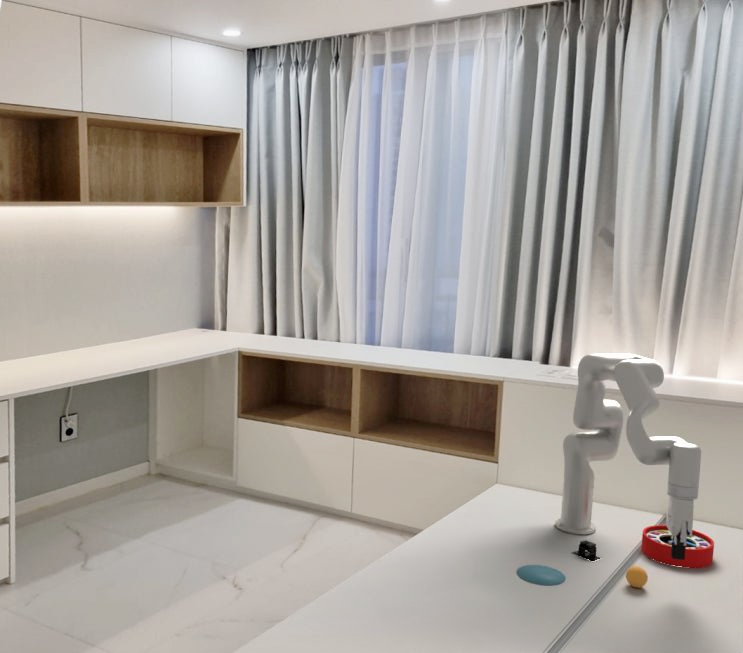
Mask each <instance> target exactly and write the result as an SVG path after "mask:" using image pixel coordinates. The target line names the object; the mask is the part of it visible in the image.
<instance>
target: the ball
mask: <svg viewBox="0 0 743 653" xmlns="http://www.w3.org/2000/svg"><path fill="white" fill-rule="evenodd" d="M625 578H626V581H627V583H628V584H629V585H630V586H631V587H634V588H636V587H637V589H638V588H643V587H645V585H646V584H647V583H648V579H649V578H648V574H647V571H646V569H644V568H643V567H641V566H638V565H634V566H631V567H629V568H628V569H627V571H626V574H625Z"/></svg>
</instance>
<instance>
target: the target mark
mask: <svg viewBox="0 0 743 653" xmlns="http://www.w3.org/2000/svg"><path fill="white" fill-rule="evenodd" d="M516 574H517V576H518V577H519V578H520V579H522V580H523V581H525V582H529V583H531V584H535V585H539V586H556V585H561V584H562V583H564V582H565V581H566V576H565V574H564V573H563V572H562V571H560V570H558V569H556V568H553V567H551V566H547V565H541V564H527V565H521V566H520V567H518V568H517V570H516Z"/></svg>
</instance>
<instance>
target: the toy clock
mask: <svg viewBox="0 0 743 653" xmlns="http://www.w3.org/2000/svg"><path fill="white" fill-rule="evenodd" d="M641 536H642V538H641V546H640V547H641V548H640V549H641V552H642V554H643V555H645V557H647V558H648V559H650V558H651V559H650V560H652V559H654V560H653V561H655V560H656V561H655V562H657V561H658V562H657V563H660V562H662V563H661V564H663V563H665V564H664V565H666V564H669V565H668V566H670V565H675V566H682V567H689V568H688V569H704V568H708V567H710V566H711V565H712V564H713V559H714V548H715V541H714V540H713V539H712V538H711V537H710V536H708V535H707V534H704V533H703V532H700V531H698V530H697V531H696V530H694V529H692V535H691V536H690V537H688V536H687V538H686V549H685V559H684V560H679V559H673V558H672V557H671V546H672V542H673V541H672V534H671V533H670V531H669V530H668V528H667V526H666V524H659V525H650V526H646V527H645V528H643V530H642V535H641ZM675 566H674V567H675ZM703 567H704V568H703Z"/></svg>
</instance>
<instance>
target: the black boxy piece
mask: <svg viewBox="0 0 743 653" xmlns="http://www.w3.org/2000/svg"><path fill="white" fill-rule="evenodd" d="M570 553H571V554H573V555H575V556H577V555H578V556H577V557H579V556H581V557H580V558H582V557H583V558H582V559H584V558H586V559H589V560H590V561H589V560H588V561H589V562H591V561H595V560H597V559H600V558H601V557H600V556H598V555H597V544H596V543H594V542H592V541H590V540H586V539H585V540H583V541H579V544H578V550H576V551H572V552H570ZM597 556H598V557H597ZM586 559H585V560H586Z"/></svg>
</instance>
